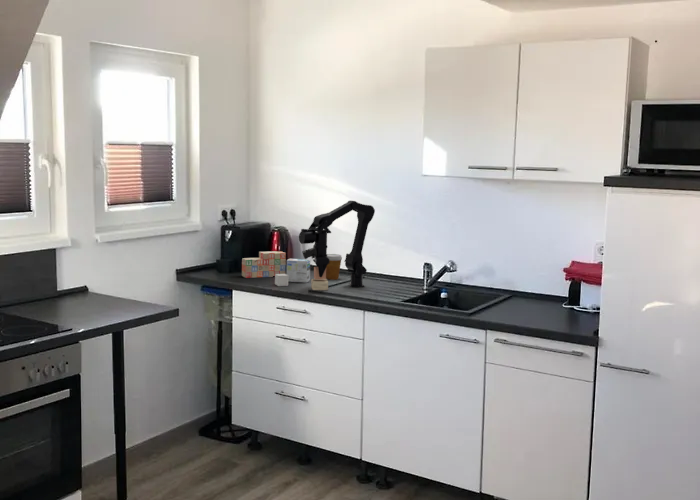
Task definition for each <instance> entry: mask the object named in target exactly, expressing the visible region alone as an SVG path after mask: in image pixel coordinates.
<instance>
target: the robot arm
mask: <svg viewBox="0 0 700 500" xmlns="http://www.w3.org/2000/svg"><path fill="white" fill-rule="evenodd" d="M352 211H353V212H356V213H357V214H356V219H357V222H358V223H357V225H356V231H355V235H354V240H353V243H352V248H351V251H349V253H346V255H345V259H344V266H345V267H346V269H347V272H348V273H350V282H349V283H348V285H349V286H350V287H352V288H353V287H355V288H356V287H362V288H363V287H365V285H364V284H363V277H364V275H366V274H367V270H368V269H367V268H366V267H365V266H364V265H363V262H364V259H363V255H362V253H363V250H364V249H363V248H364V244H365V240H366V235H367V230H368V226H369V225H370V223H371V221H372V220H373V218H374V216H375V212H376V209H375V208H374V206H373V205H370V204H364V203H360V202H358V201H356V200H348V201H347V202H345V203H343V204H342V205H340V206H338V207H337V208H335V209H333V210H331V211H328V212H326V213H321V214H318V215H316V216H314V218H313V221H312V222H311V224H310V225H309V227H308V228H307V229H306V228H301V229H300V230H301V231H300V233H299V235H298V240H299V243H300V244H302V245H305V244H309V245H310V244H313V247H312V248H308V249H305V250H303V251H302V252H301V253H302V256H303V259H308V258H311V259H312V261H313V262H314V264H315V267H318V270H319V277H322V276H323V273H324V271H325V269H326V267H327V265H328V264H329V262H330V259H329V258H328V257H327V254H328V253H327V250H328V234H332V231H331V230H330V229H329V228H330V226H332V225H333V223H334V222H335V221H336V220H338V219H339V218H342V217H343V216H345V215H346V214H348V213H351V212H352Z"/></svg>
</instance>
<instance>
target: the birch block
mask: <svg viewBox="0 0 700 500" xmlns="http://www.w3.org/2000/svg"><path fill="white" fill-rule="evenodd" d="M310 281H311V283H310V284H311V286H310V287H311V289H312V290H313V291H328V290H329V281H328V279H315V278H310Z"/></svg>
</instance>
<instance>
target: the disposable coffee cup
mask: <svg viewBox="0 0 700 500" xmlns="http://www.w3.org/2000/svg"><path fill="white" fill-rule="evenodd" d="M327 257H328V258H329V259H330V262H329V264H328V265H327V267H326V279H327V280H330V281H331V280H332V281H335V280H336V281H337V280H339V277H340V272H341V271H340V269H341V265H342V258H343V257H342V255H341V254H336V253H327Z"/></svg>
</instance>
